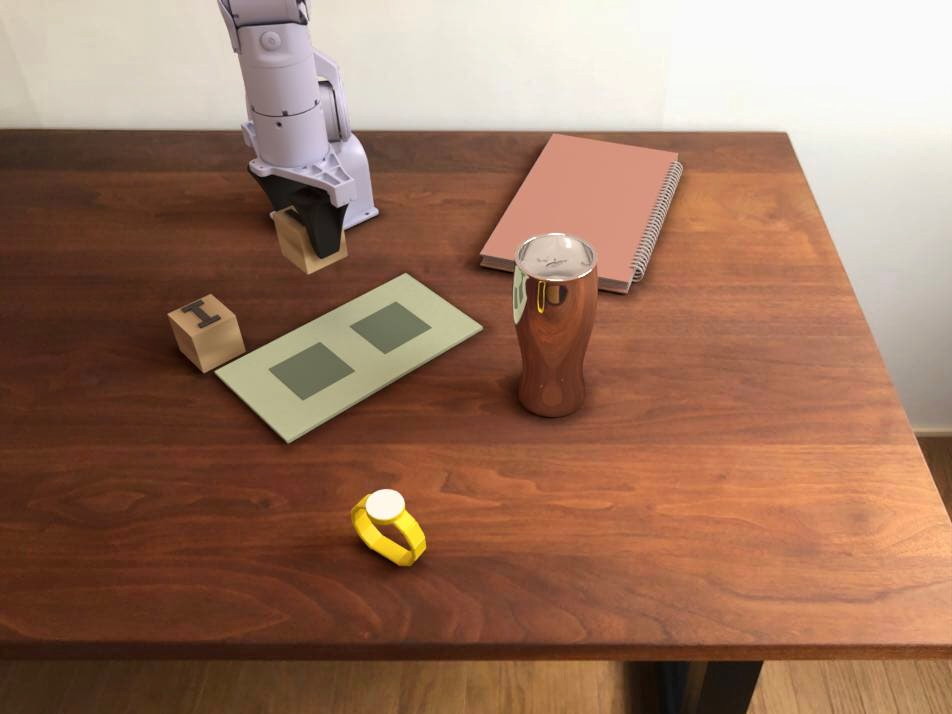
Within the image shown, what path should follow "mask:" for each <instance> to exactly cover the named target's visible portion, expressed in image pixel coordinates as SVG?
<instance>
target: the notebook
mask: <svg viewBox="0 0 952 714" xmlns="http://www.w3.org/2000/svg"><path fill="white" fill-rule="evenodd" d="M678 158H679V152H674V151H669V150H661V149H654V148H648V147H642V146H637V145H629V144H625V143H624V144H623V143H618V142H612V141H611V142H610V141H605V140H604V141H603V140H598V139H593V138H586V137H579V136H572V135H567V134H560V133H552V135H551V136H550V138H549V140H548V142H547V143H546V144H545V146H544V148H543V149H542V151H541V153H540V155H539V156H538V158H537V160H536V161H535V163H534V164H533V166H532V168H531V169H530V171H529V173H528V174H527V175H526V178H525V179H524V181H523V182H522V184H521V186H520V187H519V189H518V191H517V192H516V194H515V195H514V197H513V199H512V200H511V201H510V204H509V205H508V206H507V209H506V210H505V212H504V214H503V215H502V217H500V220H499V222H498V223H497V225H496V227H494V230H493V231H492V233H491V235H490V236H489V238H488V240H487V241H486V242H485V244H484V246H483V248H482V249H481V251H480V253H479V256H480V257H483V258H482V260H481V262H480V264H479V266H480V267H485V268H488V269H489V268H490V269H495V270H499V271H505V272H510V273H513V270H514V253H515V250H516V248H517V247H518V245H519V244H520V243H521V242H523V241H524V240H526V239H527V238H529V237H532V236H534V235H537V234H542V233H549V232H561V233H568V234H572V235H576V236H578V237H581V238H583V239H585V240H586V241H588V242H589V243H590V244H592V246H593V247H594V248H595V250H596V251H597V255H598V261H597V267H598V290H604V291H609V292H615V293H619V294H624V295H628V293H629V290H630V287H631V285H632V282H633V283H638V282H640V281H642V280H643V278H644V276H645V272H646V270H647V267H648V265H649V262H650V259H651V257H652V254H653V251H654V248H655V245H656V244H657V241H658V238H659V235H660V233H661V231H662V227H663V224H664V222H665V219H666V216H667V214H668V212H669V208H670V206H671V203H672V201H673V197H674V195H675V192H676V190H677V187H678V185H679V182H680V178H681V177H682V173H683V171H684V169H683V168H684V167H683V165H682V164H681V162H679V161H678Z"/></svg>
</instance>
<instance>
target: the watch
mask: <svg viewBox="0 0 952 714" xmlns="http://www.w3.org/2000/svg"><path fill="white" fill-rule="evenodd" d="M350 521H351V524H352V526H353V528H354V530H355V532H356V534H357V535H358V537H359V538H360V539H361V540H362V542H364V544H365V546H367V547H368V548H369V549H370V551H372V550H373V551H374V552H375V553H377V554H379V555H381V556H383V557H384V558H386V559H388V560H389V561H391V562H392V563H394V564H396V565H397V566H398V567H411V566H413V564H414V563H415V562H416V561H417V560H418V559H419V557H421V555H422V554H423V553H424V552H425V550H427V543H426V536H425V533H424V531H423V530H422V528H421V527H420V525H419V523H418V521H416V519H415V518H414V517H413V516H412V515H411V514H410V513H409V512H408V510H406V502H405V498H404V497H403V496H402V494H401V493H399V491H397V490H394V489H390V488H389V489H388V488H383V489H379V490H376V491H375V492H373V493H368V494H366V495H365V496H363V497H362V498H361V499H360V500H359V502H357V503H356V504H355V505H354V506H353V508H351V510H350ZM374 524H376V525H379V526H389V525H393V526H394V527H395V528H396V530H397V531H399V532H400V533H401V534H402V536H403V537H404V539H405V541H406V542H407V544H408V546H409V548H410V550H409V549H406V548H404V547H403V546H401V544H400V545H399V544H398V543H396V542H394V541H393V540H391V539H390V538H388V537H386V536H384V535H383V534H382V533H381V532H380V531H379V530H378V529H377V527H376V526H375V525H374Z"/></svg>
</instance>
